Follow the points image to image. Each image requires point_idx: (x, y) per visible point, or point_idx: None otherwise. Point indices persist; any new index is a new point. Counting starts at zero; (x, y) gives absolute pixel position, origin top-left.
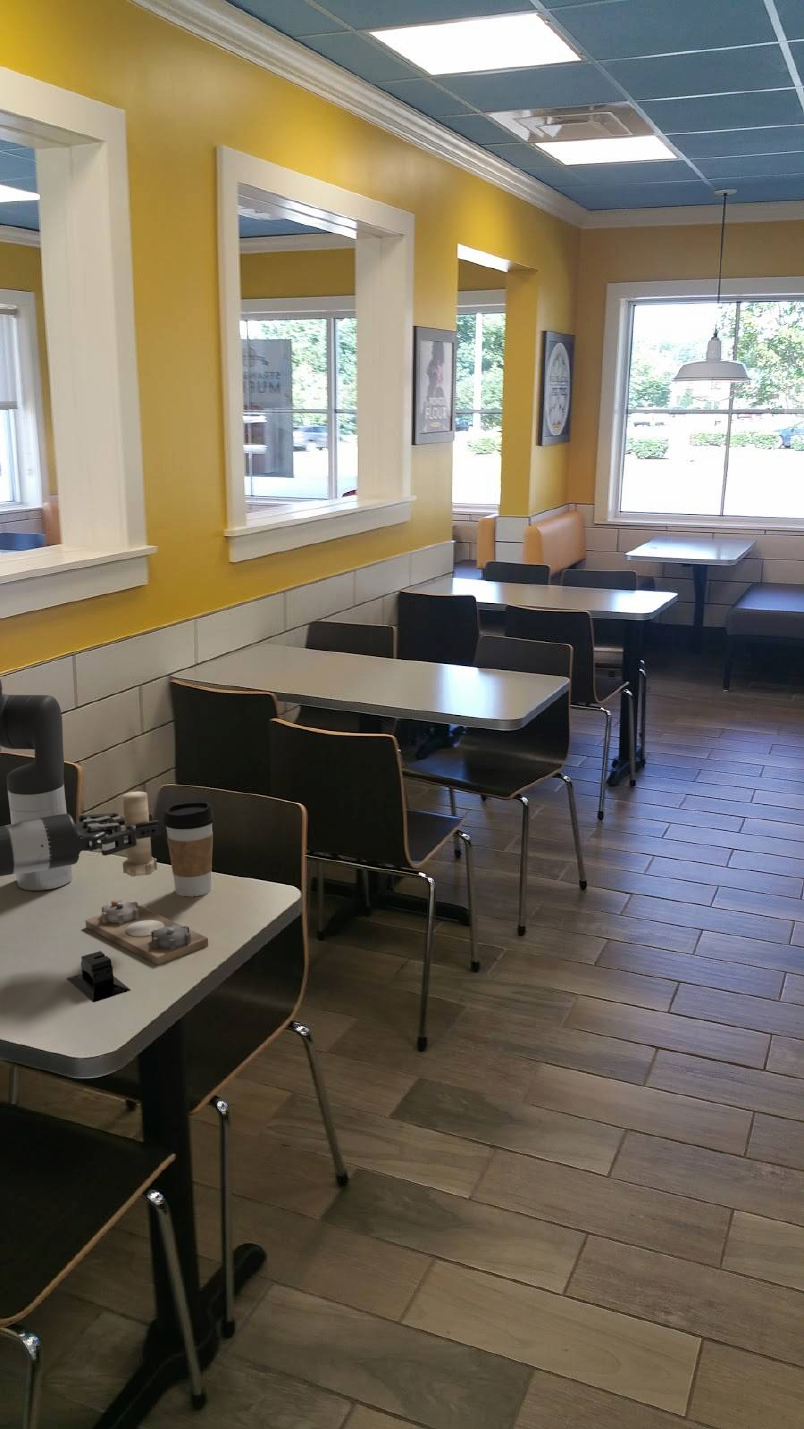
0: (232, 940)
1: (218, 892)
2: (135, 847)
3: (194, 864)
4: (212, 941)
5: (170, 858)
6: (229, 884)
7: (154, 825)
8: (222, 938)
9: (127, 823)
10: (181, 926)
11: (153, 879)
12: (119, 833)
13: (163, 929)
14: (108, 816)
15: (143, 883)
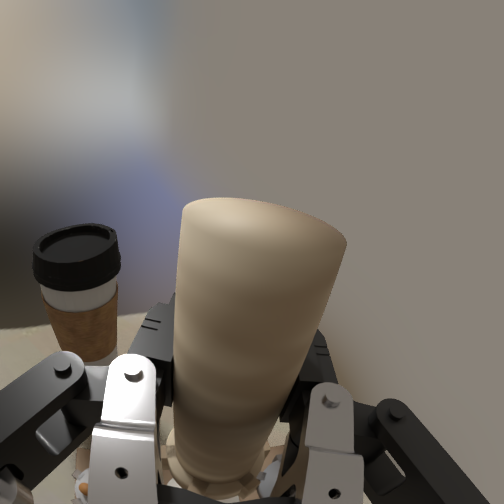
0: None
1: (127, 351)
2: (263, 445)
3: (111, 336)
4: (285, 437)
5: (62, 339)
6: (117, 331)
7: (317, 336)
8: (282, 424)
9: (264, 403)
10: (276, 461)
11: (19, 361)
12: (440, 466)
13: (271, 488)
14: (116, 433)
15: (15, 376)
